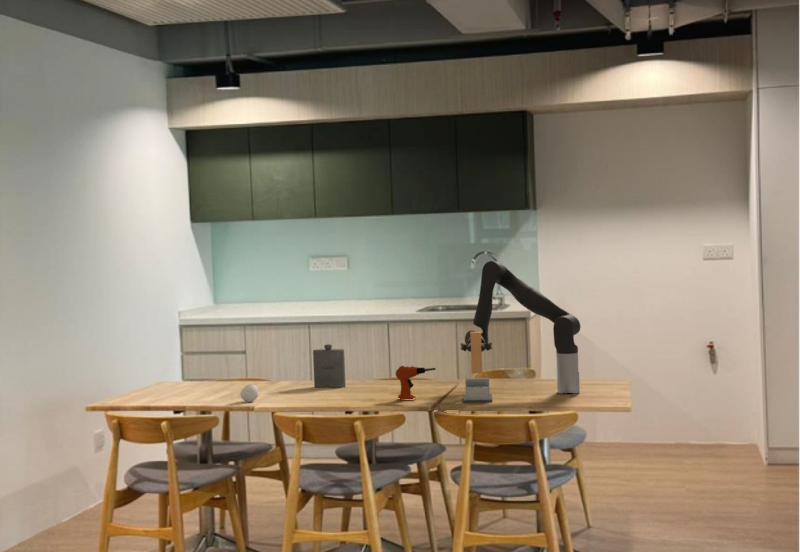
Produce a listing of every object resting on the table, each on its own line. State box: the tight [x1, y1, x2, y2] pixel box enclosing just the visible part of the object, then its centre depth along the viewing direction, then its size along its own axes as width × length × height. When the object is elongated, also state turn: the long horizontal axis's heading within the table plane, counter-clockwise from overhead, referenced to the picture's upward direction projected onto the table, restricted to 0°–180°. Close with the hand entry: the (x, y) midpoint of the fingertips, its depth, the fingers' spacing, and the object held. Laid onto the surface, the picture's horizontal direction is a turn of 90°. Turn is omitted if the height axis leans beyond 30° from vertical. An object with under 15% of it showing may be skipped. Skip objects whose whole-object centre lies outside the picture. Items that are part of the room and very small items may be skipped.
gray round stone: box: [239, 383, 259, 403], centre depth 464 cm, size 8×8×8 cm
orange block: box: [470, 331, 483, 374], centre depth 447 cm, size 4×4×17 cm
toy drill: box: [395, 365, 437, 399], centre depth 454 cm, size 5×19×15 cm, turn 70°
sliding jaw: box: [465, 377, 490, 388], centre depth 454 cm, size 10×3×7 cm, turn 86°
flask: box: [312, 343, 346, 389], centre depth 499 cm, size 15×6×20 cm, turn 78°
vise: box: [462, 386, 493, 404], centre depth 449 cm, size 12×14×6 cm
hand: (476, 349), depth 445 cm, fingers closed on orange block, 4 cm apart
